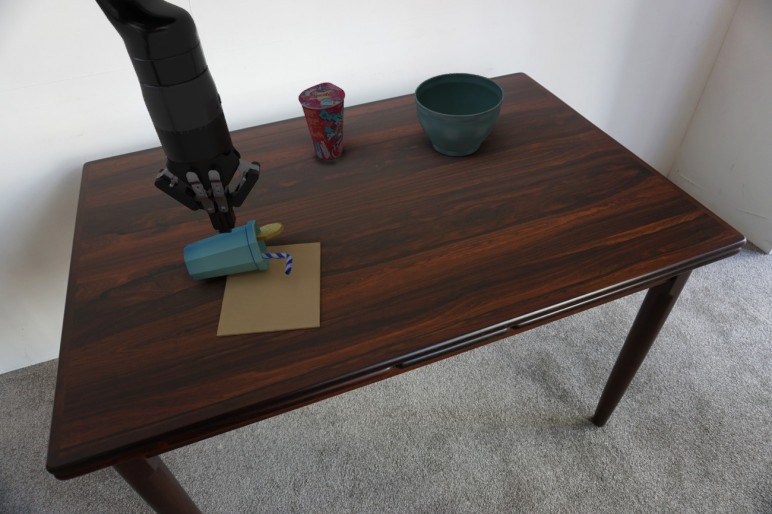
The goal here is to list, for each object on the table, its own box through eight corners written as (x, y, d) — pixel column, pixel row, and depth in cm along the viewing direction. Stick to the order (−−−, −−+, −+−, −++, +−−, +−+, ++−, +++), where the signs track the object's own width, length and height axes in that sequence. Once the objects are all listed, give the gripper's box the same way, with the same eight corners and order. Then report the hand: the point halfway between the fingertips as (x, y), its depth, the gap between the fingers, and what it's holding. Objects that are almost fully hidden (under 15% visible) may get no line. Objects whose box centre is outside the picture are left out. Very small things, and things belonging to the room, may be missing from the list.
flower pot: (448, 178, 95) (451, 125, 87) (398, 139, 105) (397, 88, 97) (514, 148, 101) (523, 96, 93) (461, 114, 110) (465, 65, 103)
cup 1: (198, 318, 74) (302, 290, 75) (176, 280, 69) (287, 251, 70) (201, 255, 84) (292, 231, 85) (182, 218, 79) (279, 193, 80)
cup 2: (357, 158, 100) (351, 100, 92) (315, 169, 98) (305, 111, 90) (341, 134, 107) (335, 78, 98) (301, 144, 105) (291, 88, 96)
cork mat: (217, 336, 71) (216, 335, 71) (232, 250, 83) (232, 249, 83) (319, 327, 71) (319, 326, 71) (320, 243, 84) (320, 242, 83)
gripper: (115, 133, 54) (170, 253, 66) (243, 123, 54) (275, 244, 67) (134, 98, 59) (182, 215, 72) (250, 89, 60) (278, 207, 72)
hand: (226, 229), depth 69 cm, fingers closed
